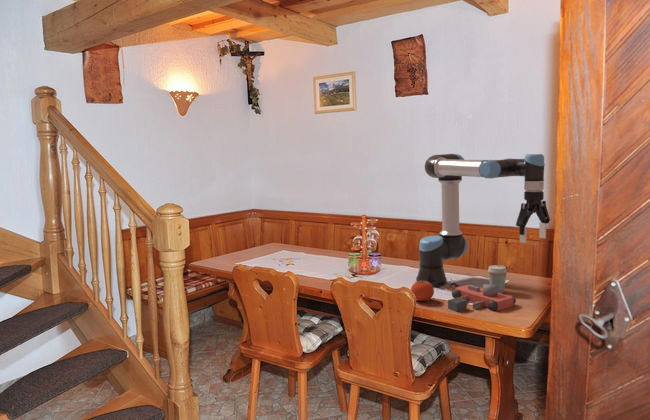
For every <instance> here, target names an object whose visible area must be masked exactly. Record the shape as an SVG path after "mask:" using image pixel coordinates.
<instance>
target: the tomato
mask: <svg viewBox="0 0 650 420" xmlns="http://www.w3.org/2000/svg"><path fill="white" fill-rule="evenodd" d="M411 291H412V292H413V293H414V294H415V296H416V301H420V302H425V301H426V302H427V301H428V300H430V299H432V298H433V296H434V294H435V287H433V286H432V284H431V283H429V282H427V281H423V279H422V280H421V281H415V282H413V284H412V285H411V288H410V292H411Z"/></svg>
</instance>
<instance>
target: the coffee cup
mask: <svg viewBox="0 0 650 420" xmlns="http://www.w3.org/2000/svg"><path fill="white" fill-rule="evenodd" d="M487 271H488V277H489V279H488V280H489V284H494V285H497V286H498V293H501V294H504V293H505V287H506V281H507V280H506V279H507V273H508V270H507V267H506V266H505V265H499V264H494V265H489V266H488V269H487Z"/></svg>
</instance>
